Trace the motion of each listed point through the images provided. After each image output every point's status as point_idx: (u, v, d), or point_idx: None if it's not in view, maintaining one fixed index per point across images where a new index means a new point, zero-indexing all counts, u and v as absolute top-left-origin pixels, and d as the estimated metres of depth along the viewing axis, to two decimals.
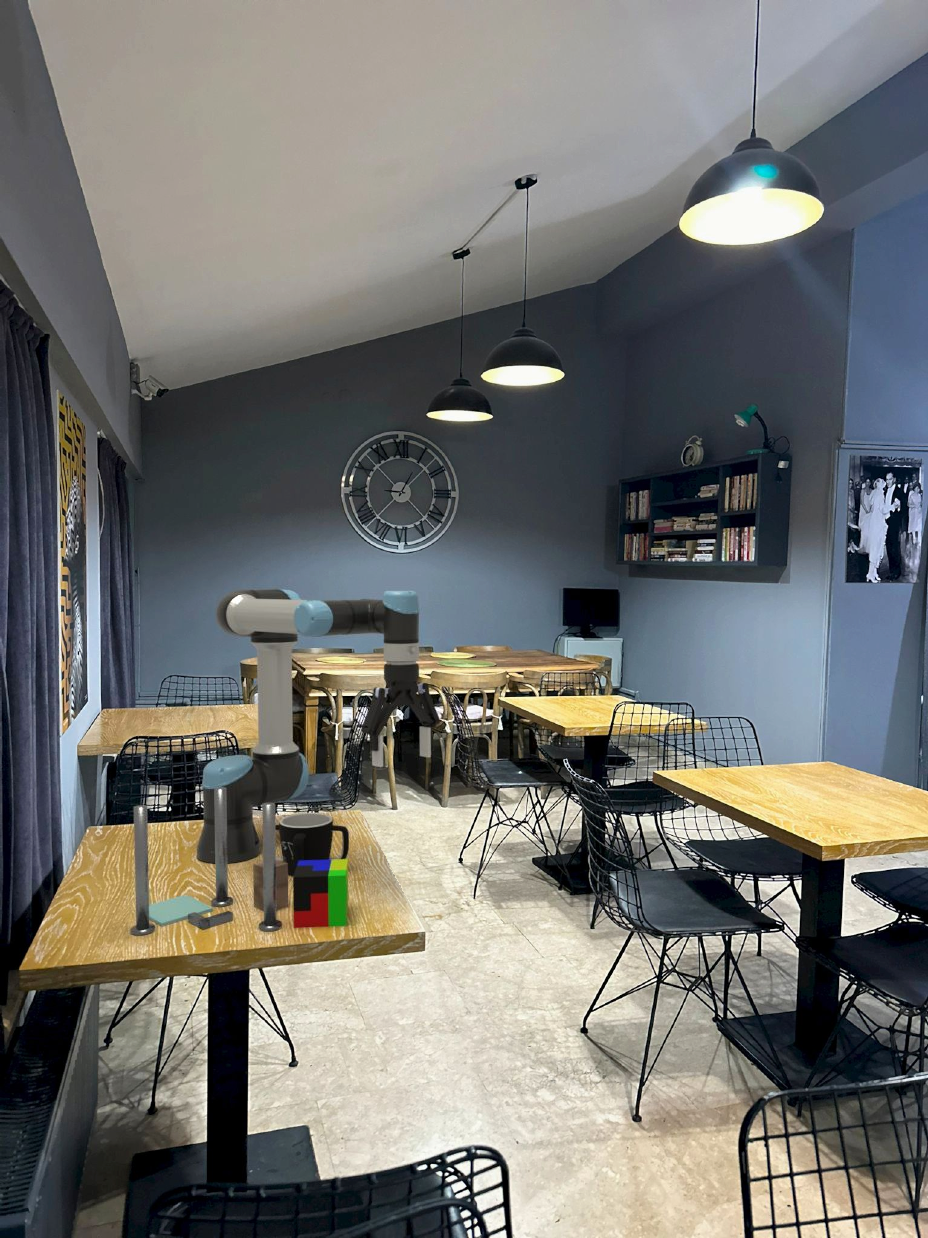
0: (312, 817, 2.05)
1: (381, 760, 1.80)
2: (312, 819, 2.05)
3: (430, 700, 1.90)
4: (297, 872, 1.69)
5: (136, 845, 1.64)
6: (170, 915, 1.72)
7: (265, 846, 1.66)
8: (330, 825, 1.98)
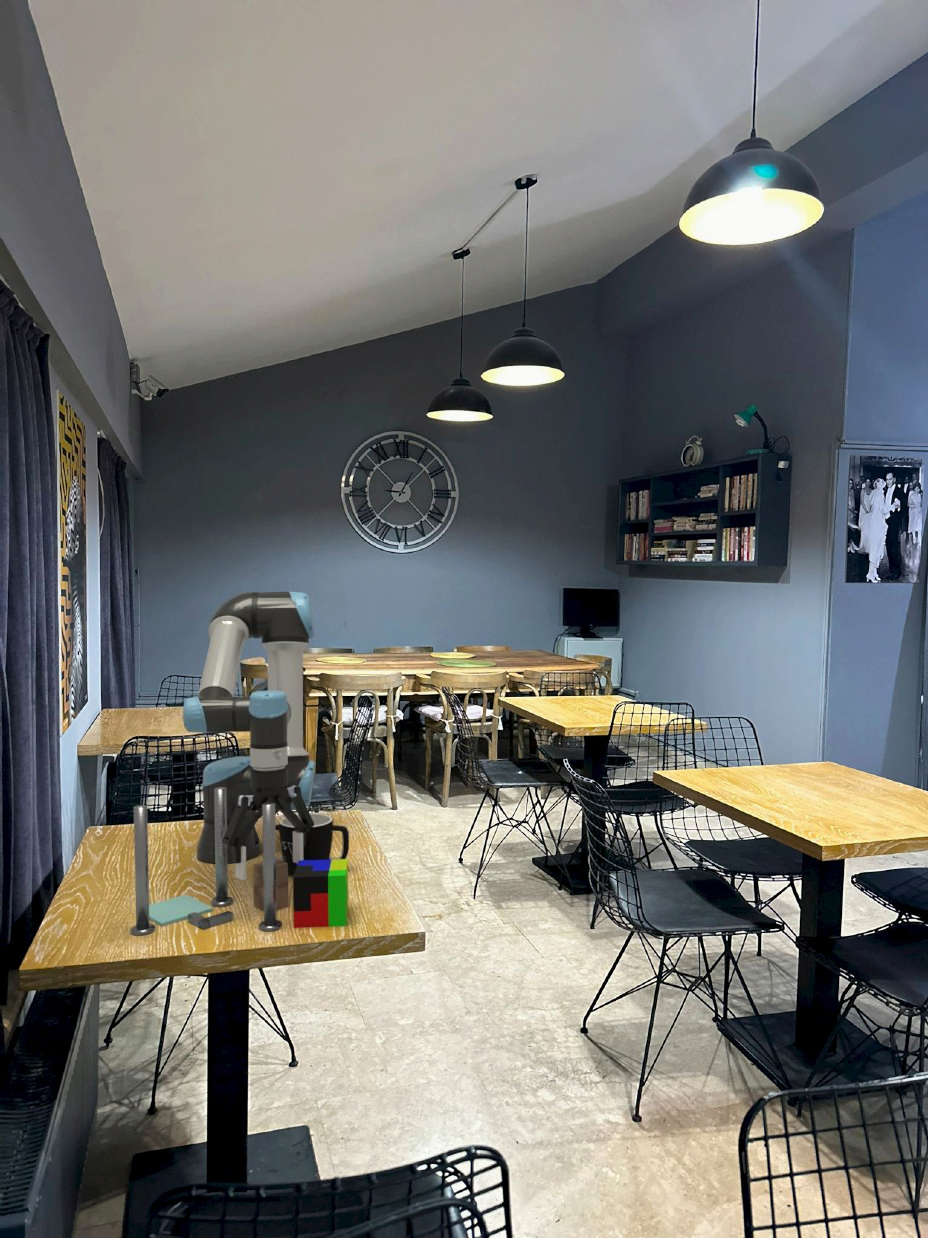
0: (312, 817, 2.05)
1: (244, 873, 1.71)
2: (312, 819, 2.05)
3: (303, 804, 1.81)
4: (297, 872, 1.69)
5: (136, 845, 1.64)
6: (170, 915, 1.72)
7: (265, 846, 1.66)
8: (330, 825, 1.98)
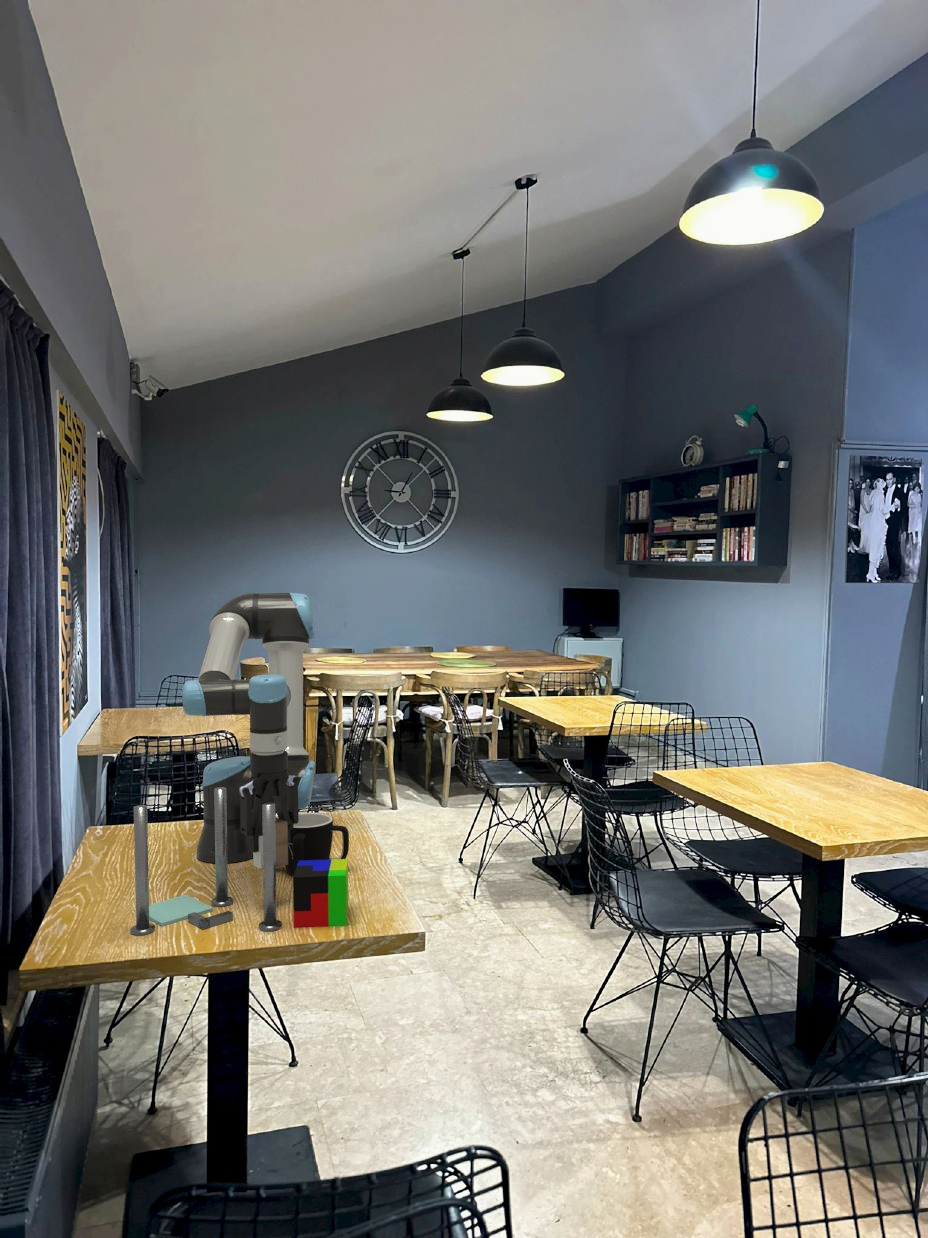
0: (312, 817, 2.05)
1: (261, 861, 1.75)
2: (312, 819, 2.05)
3: (296, 796, 1.80)
4: (297, 872, 1.69)
5: (136, 845, 1.64)
6: (170, 915, 1.72)
7: (265, 846, 1.66)
8: (330, 825, 1.98)
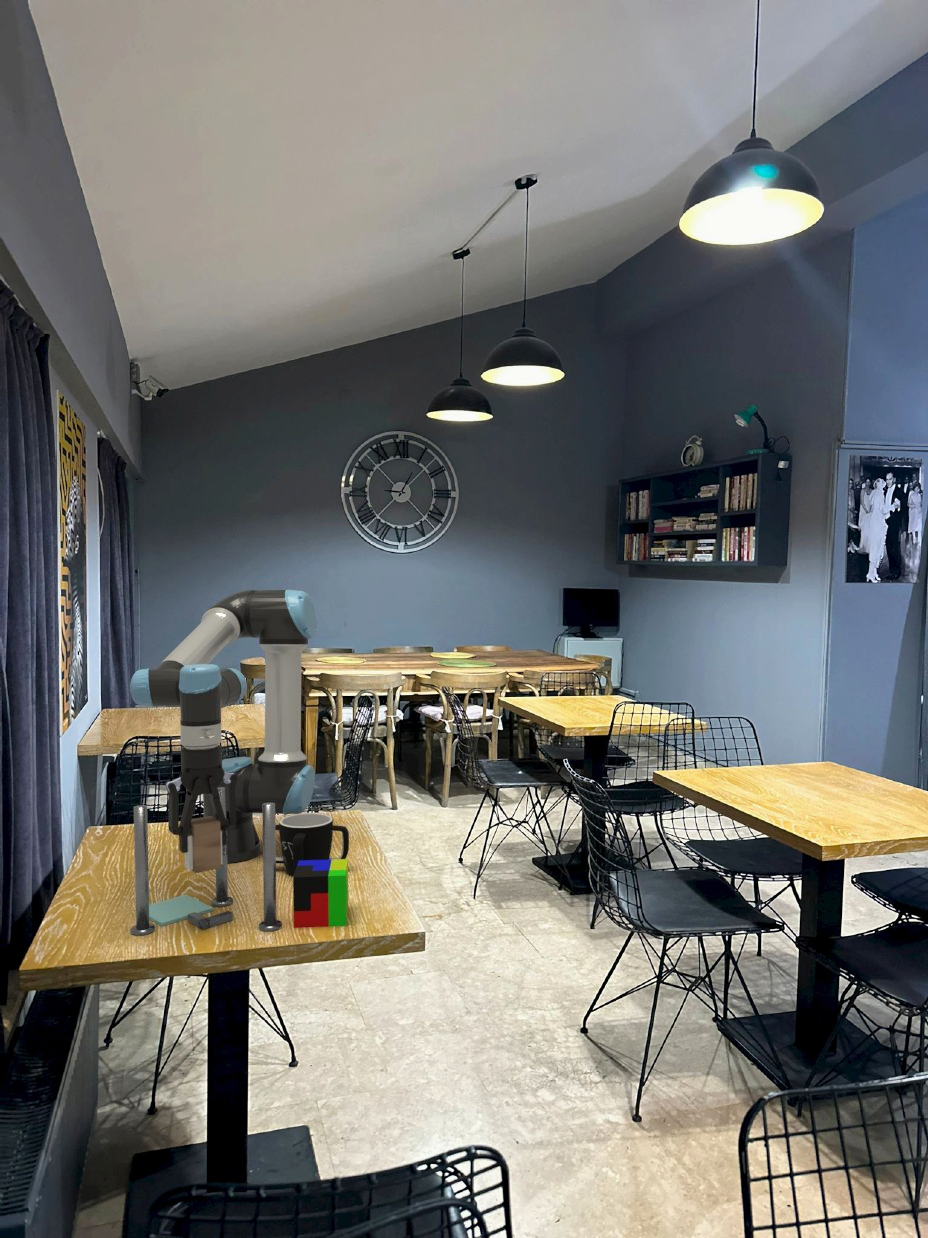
0: (312, 817, 2.05)
1: (190, 863, 1.64)
2: (312, 819, 2.05)
3: (233, 795, 1.69)
4: (297, 872, 1.69)
5: (136, 845, 1.64)
6: (170, 915, 1.72)
7: (265, 846, 1.66)
8: (330, 825, 1.98)
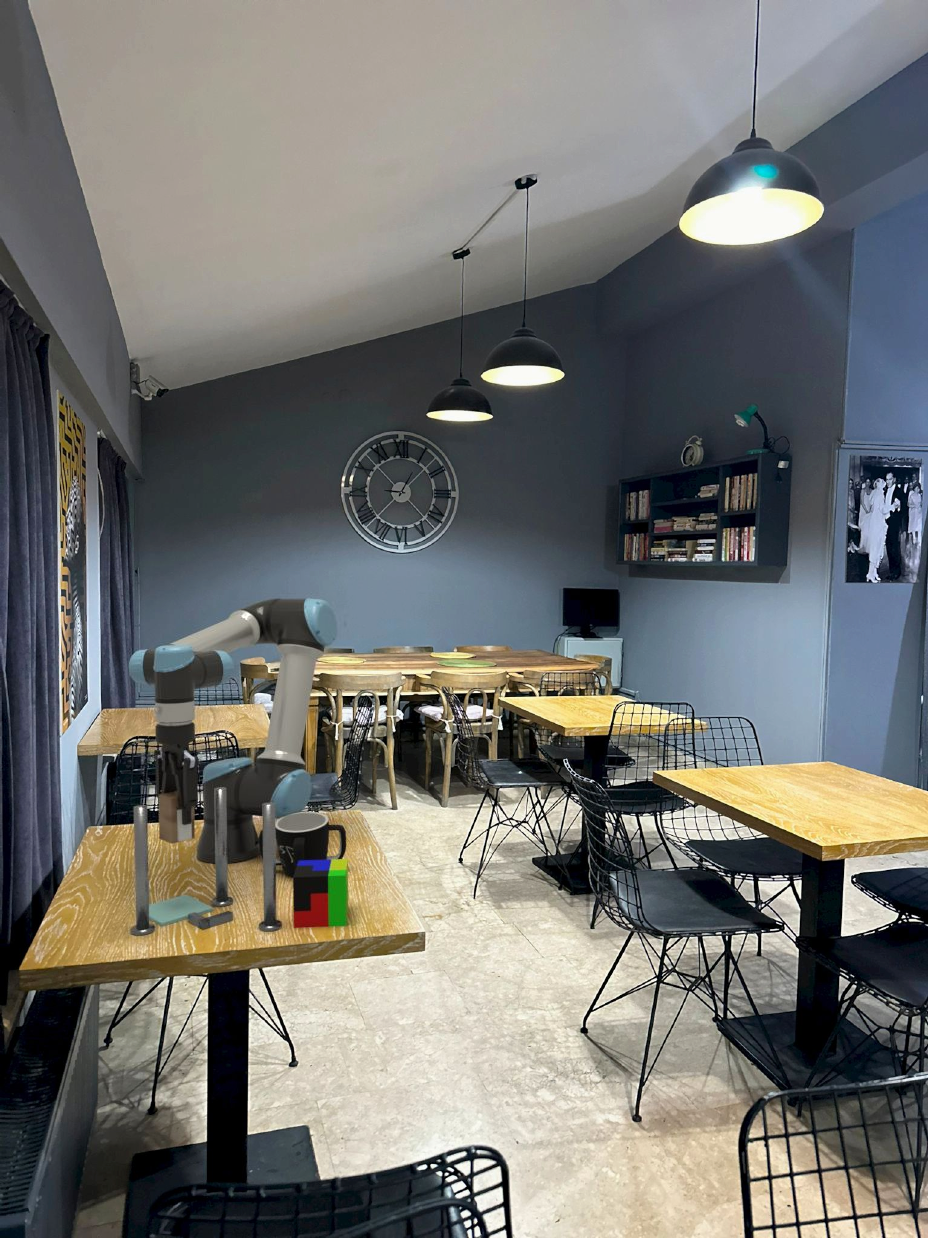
0: (305, 816, 2.03)
1: None
2: (305, 818, 2.03)
3: (185, 778, 1.70)
4: (297, 872, 1.69)
5: (136, 845, 1.64)
6: (170, 915, 1.72)
7: (265, 846, 1.66)
8: (327, 825, 1.97)
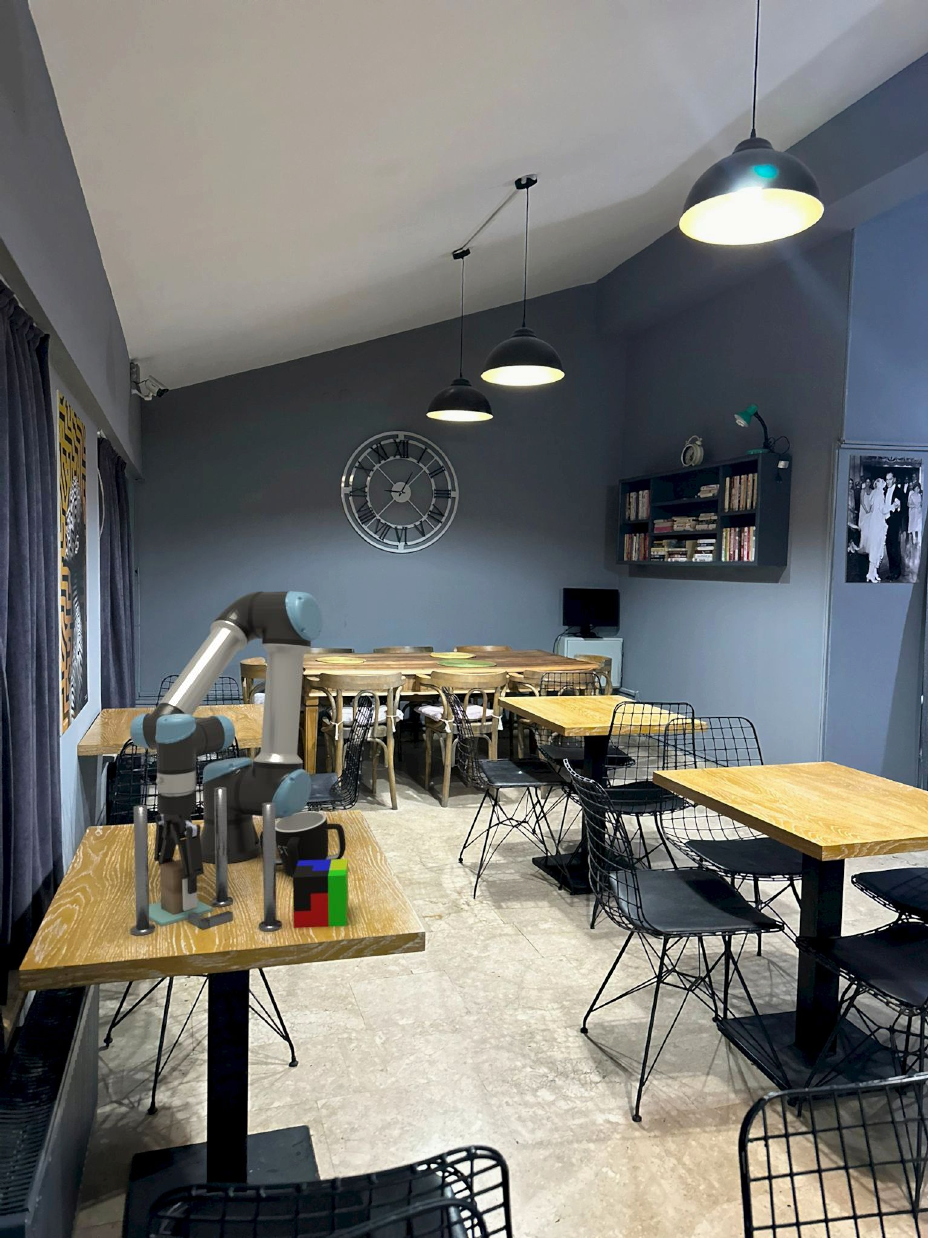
0: (307, 815, 2.04)
1: None
2: (307, 817, 2.04)
3: (188, 848, 1.70)
4: (297, 872, 1.69)
5: (136, 845, 1.64)
6: (170, 915, 1.72)
7: (265, 846, 1.66)
8: (323, 824, 1.96)
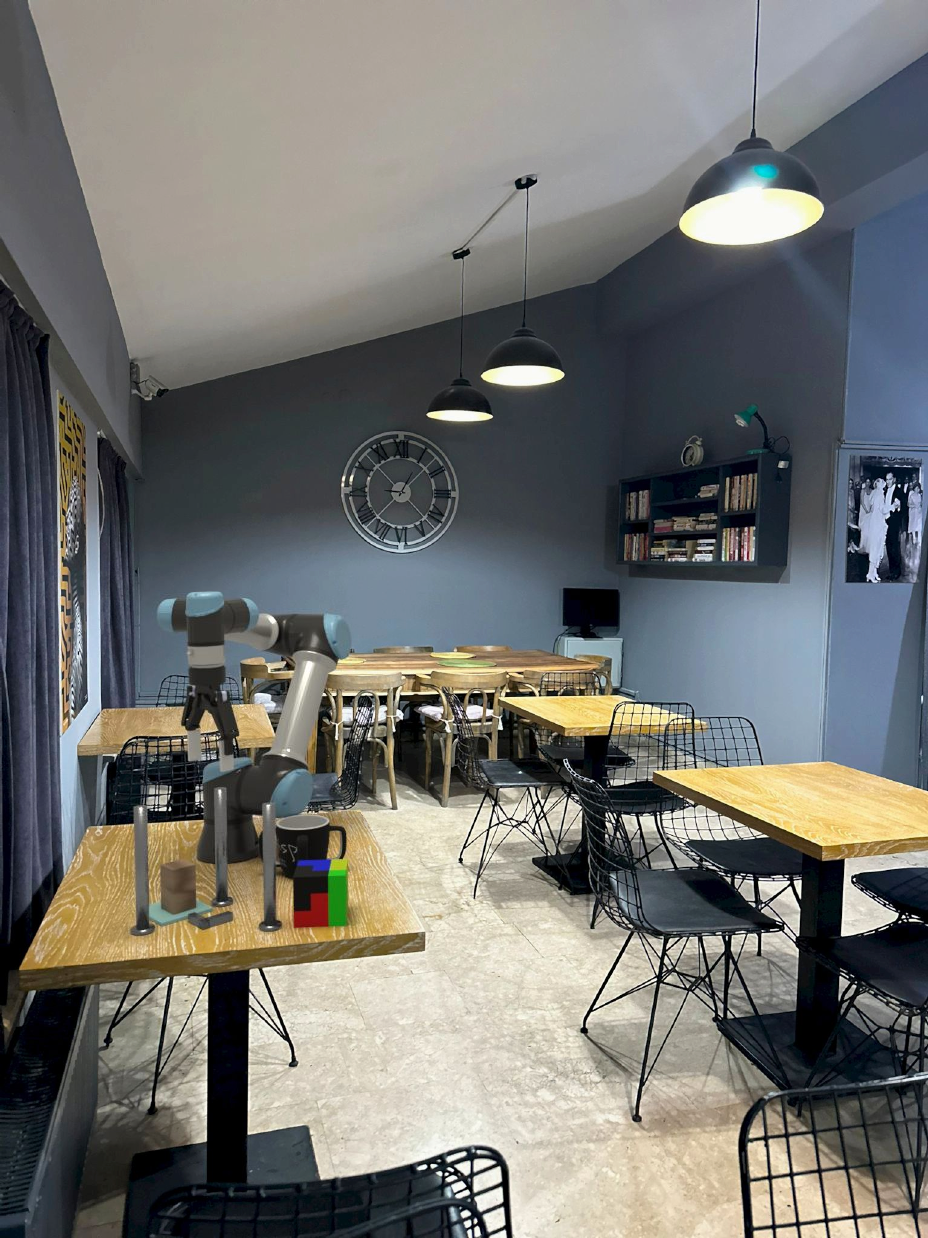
0: (305, 819, 2.03)
1: (188, 754, 1.87)
2: (305, 821, 2.03)
3: (221, 711, 1.76)
4: (297, 872, 1.69)
5: (136, 845, 1.64)
6: (170, 915, 1.72)
7: (265, 846, 1.66)
8: (328, 825, 1.97)
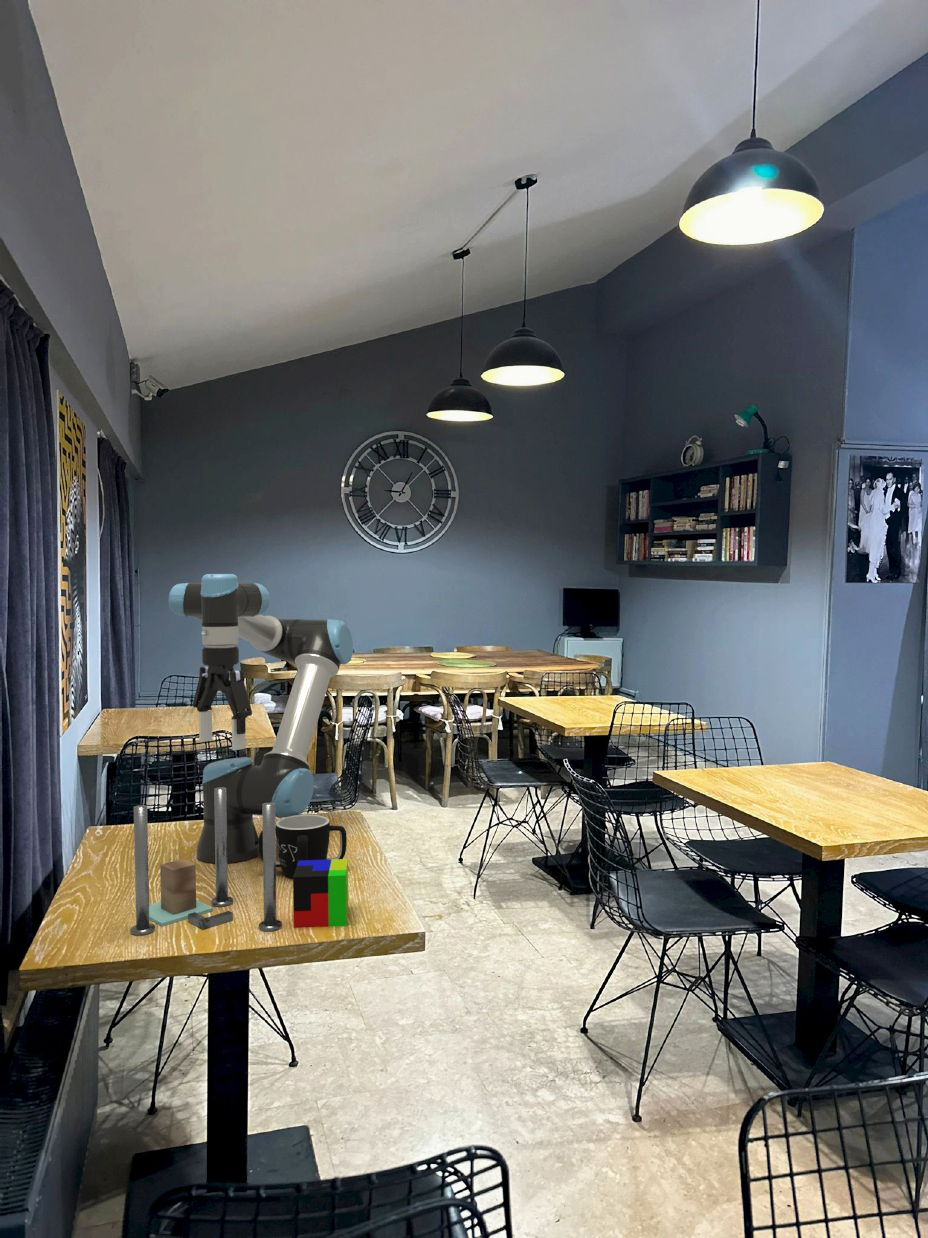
0: (304, 819, 2.03)
1: (200, 735, 1.90)
2: (304, 821, 2.03)
3: (234, 690, 1.79)
4: (297, 872, 1.69)
5: (136, 845, 1.64)
6: (170, 915, 1.72)
7: (265, 846, 1.66)
8: (328, 825, 1.97)
